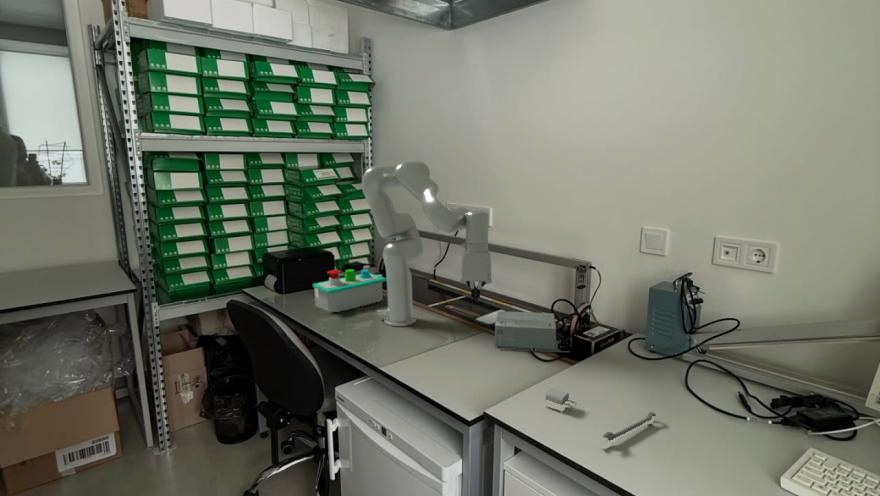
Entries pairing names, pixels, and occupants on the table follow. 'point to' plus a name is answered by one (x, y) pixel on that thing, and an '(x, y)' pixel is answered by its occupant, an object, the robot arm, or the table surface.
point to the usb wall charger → (558, 396)
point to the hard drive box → (525, 330)
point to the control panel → (349, 290)
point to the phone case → (488, 319)
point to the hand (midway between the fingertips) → (475, 299)
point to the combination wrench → (628, 428)
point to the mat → (529, 349)
